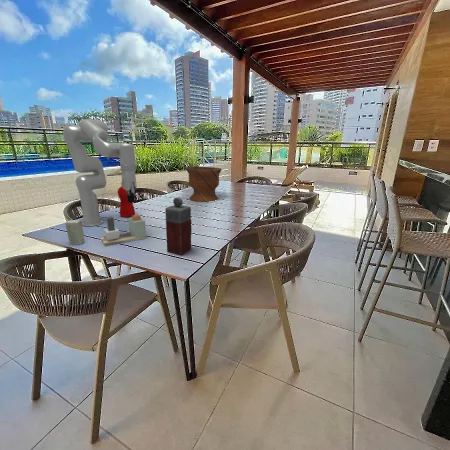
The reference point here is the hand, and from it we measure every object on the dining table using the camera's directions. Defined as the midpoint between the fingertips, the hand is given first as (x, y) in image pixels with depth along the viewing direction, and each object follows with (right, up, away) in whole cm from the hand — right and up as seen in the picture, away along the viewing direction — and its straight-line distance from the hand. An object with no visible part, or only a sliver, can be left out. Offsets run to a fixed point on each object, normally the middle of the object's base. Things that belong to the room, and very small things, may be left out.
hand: (131, 201), depth 136 cm
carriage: (-10, -20, -1) cm, 22 cm away
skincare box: (-28, -23, -4) cm, 36 cm away
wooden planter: (+31, +13, +107) cm, 112 cm away
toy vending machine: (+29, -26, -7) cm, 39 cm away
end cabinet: (+1, -18, +7) cm, 20 cm away
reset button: (+1, -10, +5) cm, 12 cm away
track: (-5, -21, +3) cm, 22 cm away
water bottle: (-19, -6, +45) cm, 49 cm away
